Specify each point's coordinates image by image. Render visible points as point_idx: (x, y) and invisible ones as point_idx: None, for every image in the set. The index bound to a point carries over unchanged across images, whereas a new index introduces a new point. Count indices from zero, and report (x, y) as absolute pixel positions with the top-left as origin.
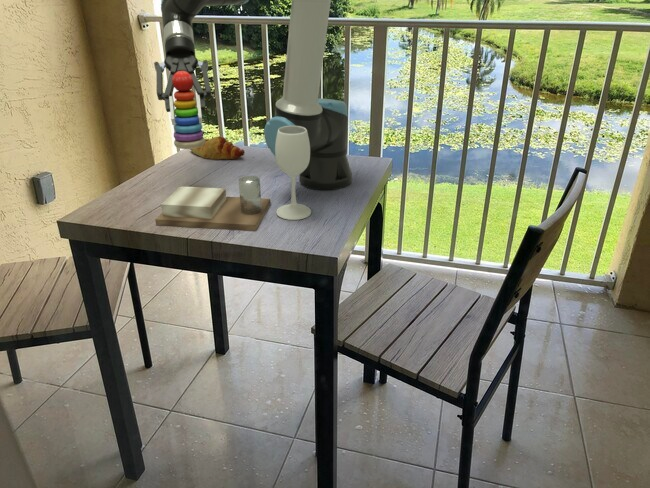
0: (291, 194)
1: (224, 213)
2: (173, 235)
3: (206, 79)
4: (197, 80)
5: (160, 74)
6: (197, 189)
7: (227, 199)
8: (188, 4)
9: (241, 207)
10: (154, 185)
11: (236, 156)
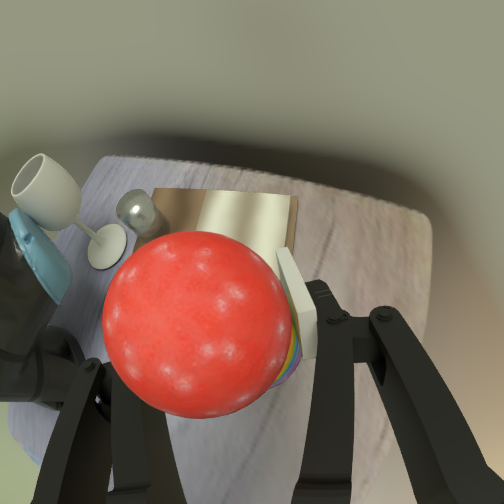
0: (93, 231)
1: (193, 218)
2: (263, 174)
3: (65, 424)
4: (113, 427)
5: (438, 440)
6: None
7: None
8: None
9: (165, 218)
10: (359, 379)
11: None
